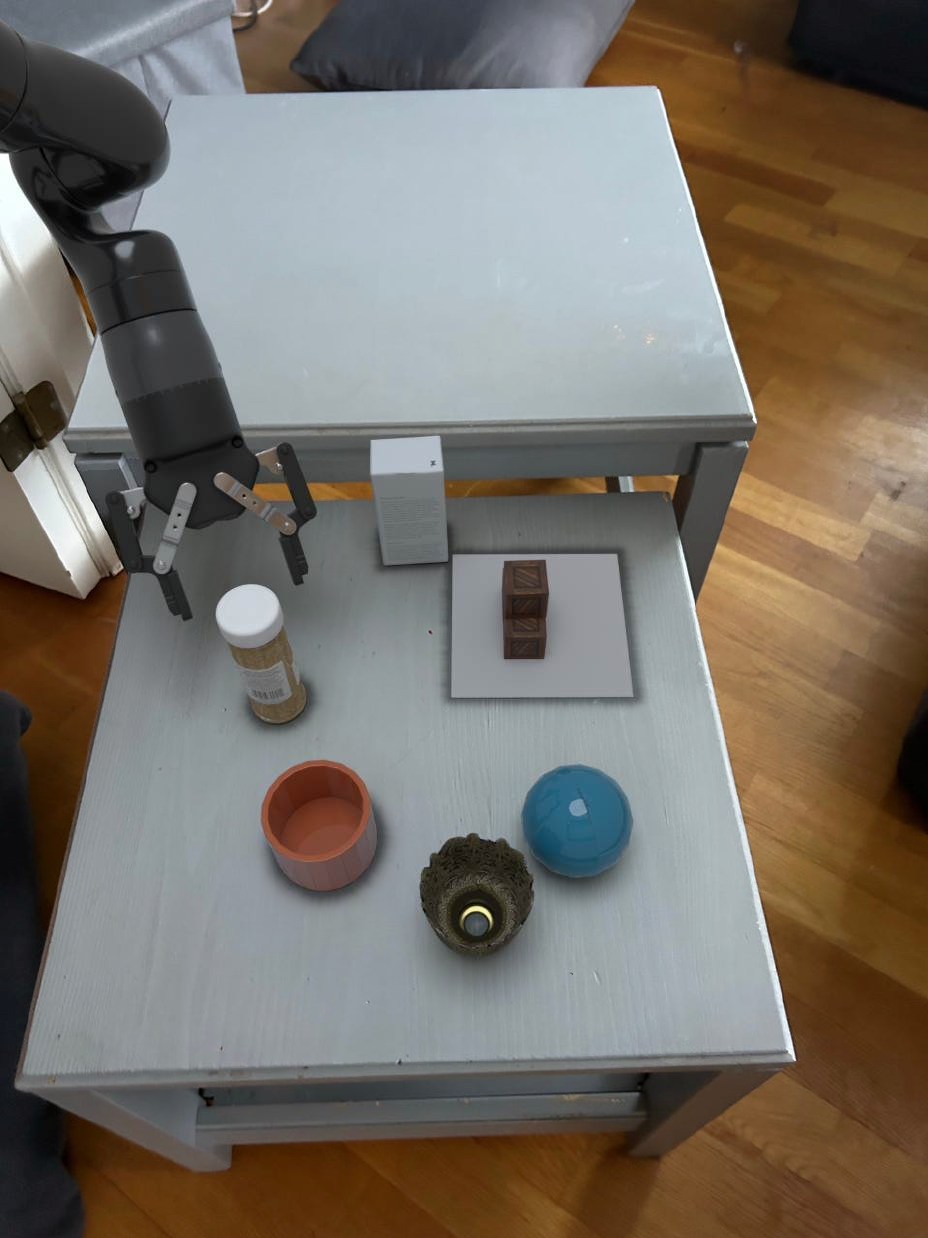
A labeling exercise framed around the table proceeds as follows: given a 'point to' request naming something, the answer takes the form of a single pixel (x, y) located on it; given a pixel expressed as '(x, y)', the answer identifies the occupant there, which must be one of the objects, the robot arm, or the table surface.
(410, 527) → the cosmetic box
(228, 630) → the sprinkles bottle
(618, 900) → the table surface
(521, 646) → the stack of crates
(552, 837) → the ball
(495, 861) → the cup
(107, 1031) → the table surface
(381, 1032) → the table surface
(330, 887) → the pot
